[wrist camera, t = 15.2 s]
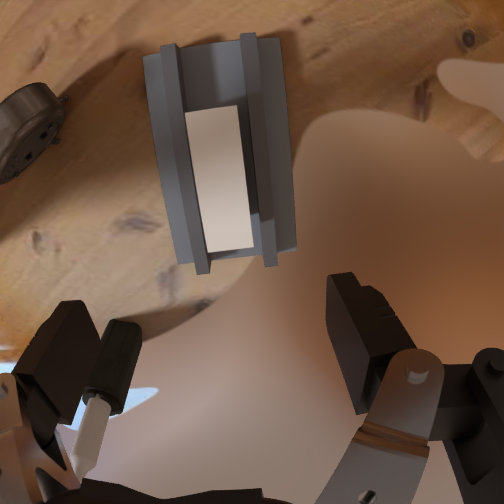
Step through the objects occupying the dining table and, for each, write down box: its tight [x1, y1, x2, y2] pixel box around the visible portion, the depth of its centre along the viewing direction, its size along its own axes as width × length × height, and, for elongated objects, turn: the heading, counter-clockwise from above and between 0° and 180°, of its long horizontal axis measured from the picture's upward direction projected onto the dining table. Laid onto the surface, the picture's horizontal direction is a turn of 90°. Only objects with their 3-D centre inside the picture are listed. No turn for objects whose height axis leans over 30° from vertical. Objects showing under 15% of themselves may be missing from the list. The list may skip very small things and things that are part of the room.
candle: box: [70, 319, 142, 482], centre depth 32 cm, size 5×5×25 cm
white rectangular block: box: [185, 105, 254, 253], centre depth 28 cm, size 4×12×8 cm, turn 6°
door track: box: [143, 32, 297, 275], centre depth 31 cm, size 14×24×4 cm, turn 6°
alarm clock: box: [0, 82, 68, 185], centre depth 22 cm, size 11×5×16 cm, turn 127°
